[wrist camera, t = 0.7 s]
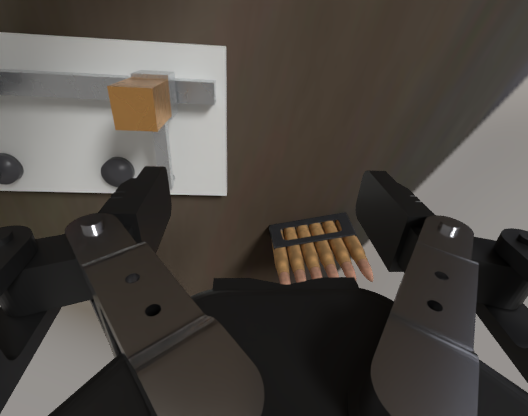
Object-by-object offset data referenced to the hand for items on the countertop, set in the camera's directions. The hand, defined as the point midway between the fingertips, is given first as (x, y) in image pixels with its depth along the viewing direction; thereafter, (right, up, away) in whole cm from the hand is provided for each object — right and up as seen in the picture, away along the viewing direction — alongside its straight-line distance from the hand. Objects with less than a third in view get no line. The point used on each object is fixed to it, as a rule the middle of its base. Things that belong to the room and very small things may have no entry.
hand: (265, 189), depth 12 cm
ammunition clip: (+6, -3, +29) cm, 30 cm away
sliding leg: (-10, +7, +18) cm, 22 cm away
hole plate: (-18, +9, +20) cm, 28 cm away
